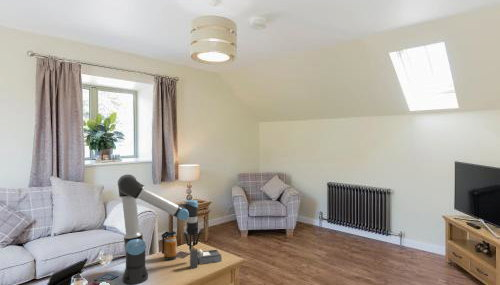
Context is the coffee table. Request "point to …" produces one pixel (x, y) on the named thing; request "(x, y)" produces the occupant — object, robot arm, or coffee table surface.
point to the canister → (169, 245)
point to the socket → (210, 257)
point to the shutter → (203, 253)
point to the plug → (193, 258)
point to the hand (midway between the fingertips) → (192, 254)
